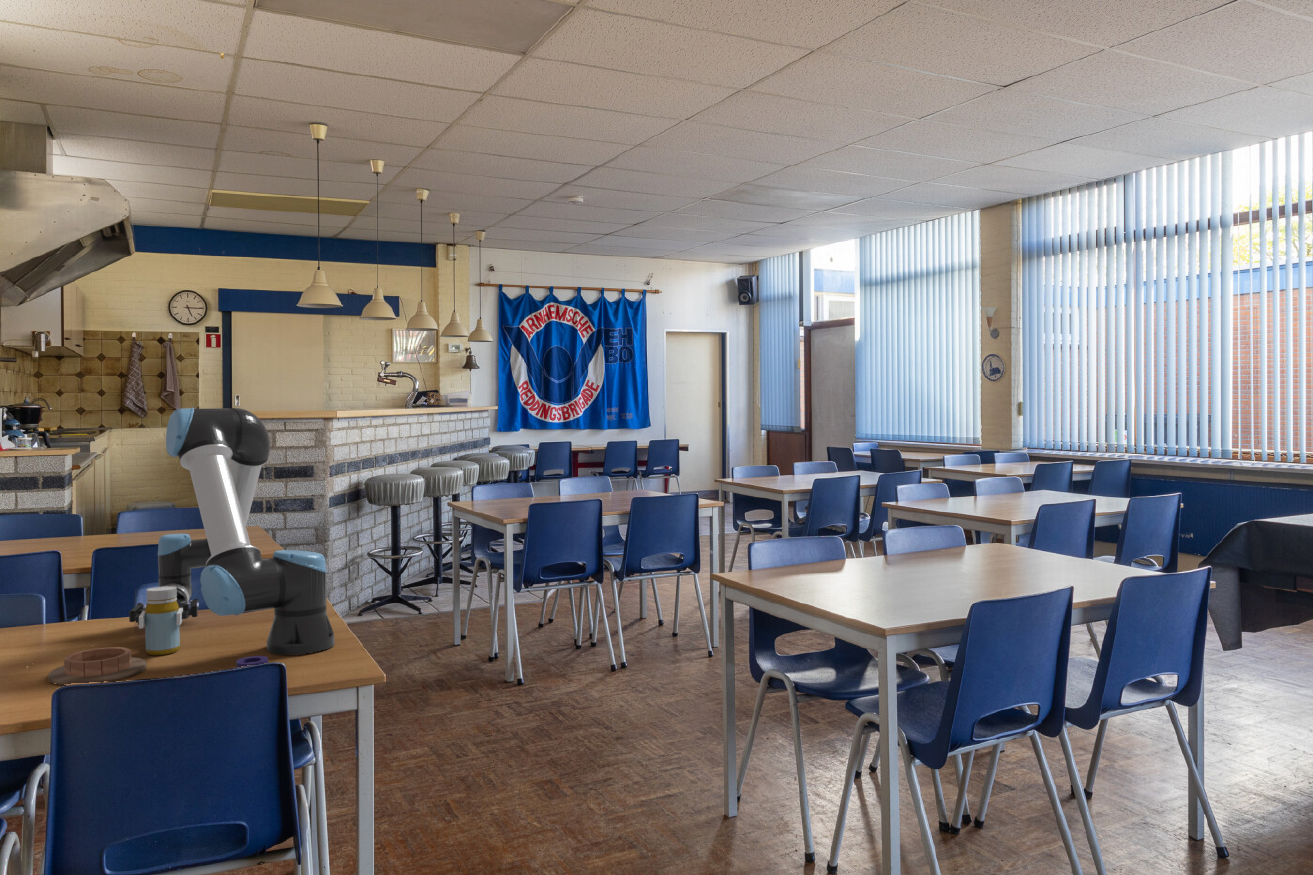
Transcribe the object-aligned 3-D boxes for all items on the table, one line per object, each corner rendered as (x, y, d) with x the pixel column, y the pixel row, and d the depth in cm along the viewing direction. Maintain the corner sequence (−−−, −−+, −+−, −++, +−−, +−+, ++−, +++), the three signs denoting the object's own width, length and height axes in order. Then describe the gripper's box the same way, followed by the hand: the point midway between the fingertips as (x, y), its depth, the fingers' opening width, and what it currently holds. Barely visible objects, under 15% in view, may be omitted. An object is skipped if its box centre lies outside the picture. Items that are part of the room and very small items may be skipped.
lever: (251, 669, 197) (251, 654, 196) (274, 671, 195) (274, 657, 195) (208, 685, 185) (208, 670, 185) (232, 688, 183) (232, 672, 183)
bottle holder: (161, 670, 195) (160, 652, 194) (68, 691, 180) (67, 671, 180) (125, 656, 205) (124, 639, 205) (34, 675, 191) (34, 656, 191)
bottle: (158, 648, 213) (157, 585, 213) (186, 648, 212) (184, 585, 212) (139, 655, 206) (137, 591, 206) (167, 656, 205) (166, 591, 205)
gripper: (214, 612, 229) (208, 632, 208) (126, 619, 222) (110, 641, 200) (214, 583, 229) (207, 601, 208) (125, 589, 221) (109, 608, 200)
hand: (159, 620), depth 204 cm, fingers closed on bottle, 7 cm apart
